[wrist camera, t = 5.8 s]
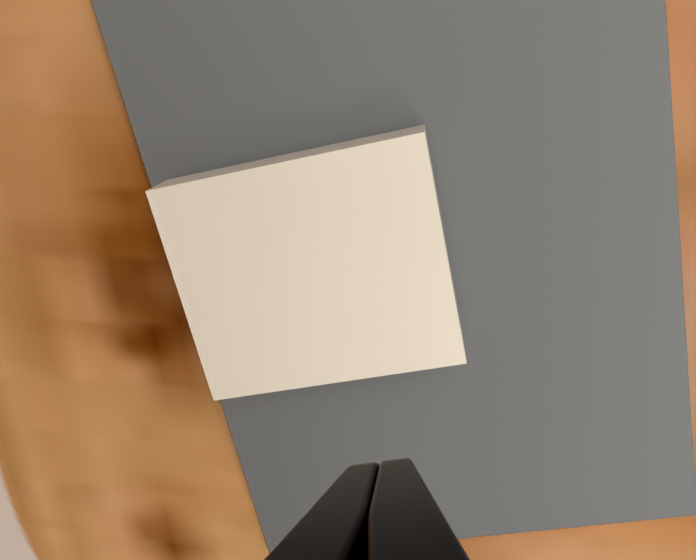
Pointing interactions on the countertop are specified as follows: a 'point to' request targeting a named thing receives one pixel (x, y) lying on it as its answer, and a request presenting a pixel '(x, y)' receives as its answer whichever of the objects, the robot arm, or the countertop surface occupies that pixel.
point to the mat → (461, 238)
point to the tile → (313, 265)
